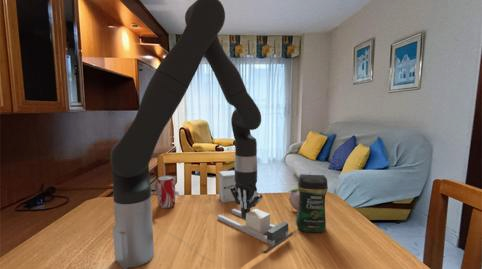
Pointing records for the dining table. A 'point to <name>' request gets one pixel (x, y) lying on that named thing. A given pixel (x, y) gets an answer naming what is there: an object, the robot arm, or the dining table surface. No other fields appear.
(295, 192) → the decorative fruit
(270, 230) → the grey slide rail
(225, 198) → the supplement box
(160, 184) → the soda can
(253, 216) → the block
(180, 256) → the dining table surface
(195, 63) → the robot arm
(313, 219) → the coffee jar
